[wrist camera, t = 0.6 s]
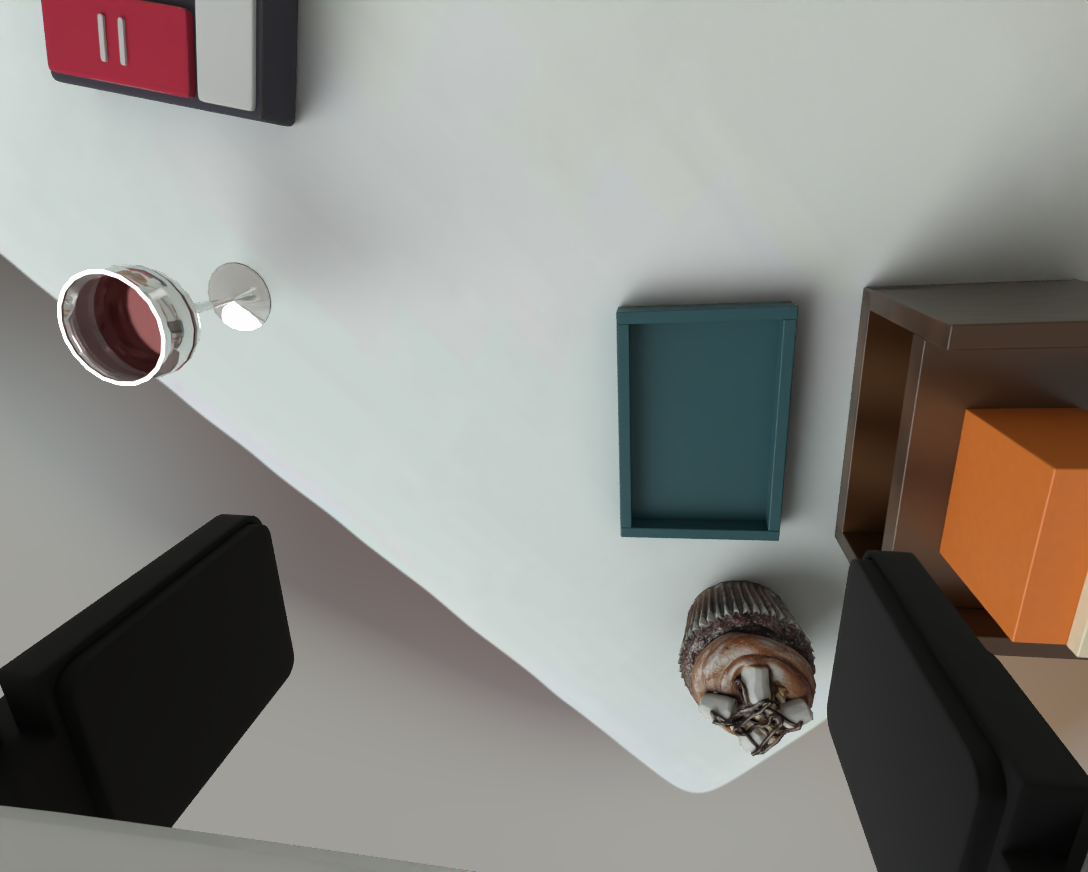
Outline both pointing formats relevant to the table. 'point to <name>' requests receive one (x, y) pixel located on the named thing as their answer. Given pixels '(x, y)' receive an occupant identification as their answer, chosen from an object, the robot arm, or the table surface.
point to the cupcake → (748, 664)
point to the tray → (704, 418)
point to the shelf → (949, 411)
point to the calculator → (180, 52)
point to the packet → (1024, 521)
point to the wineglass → (150, 318)
